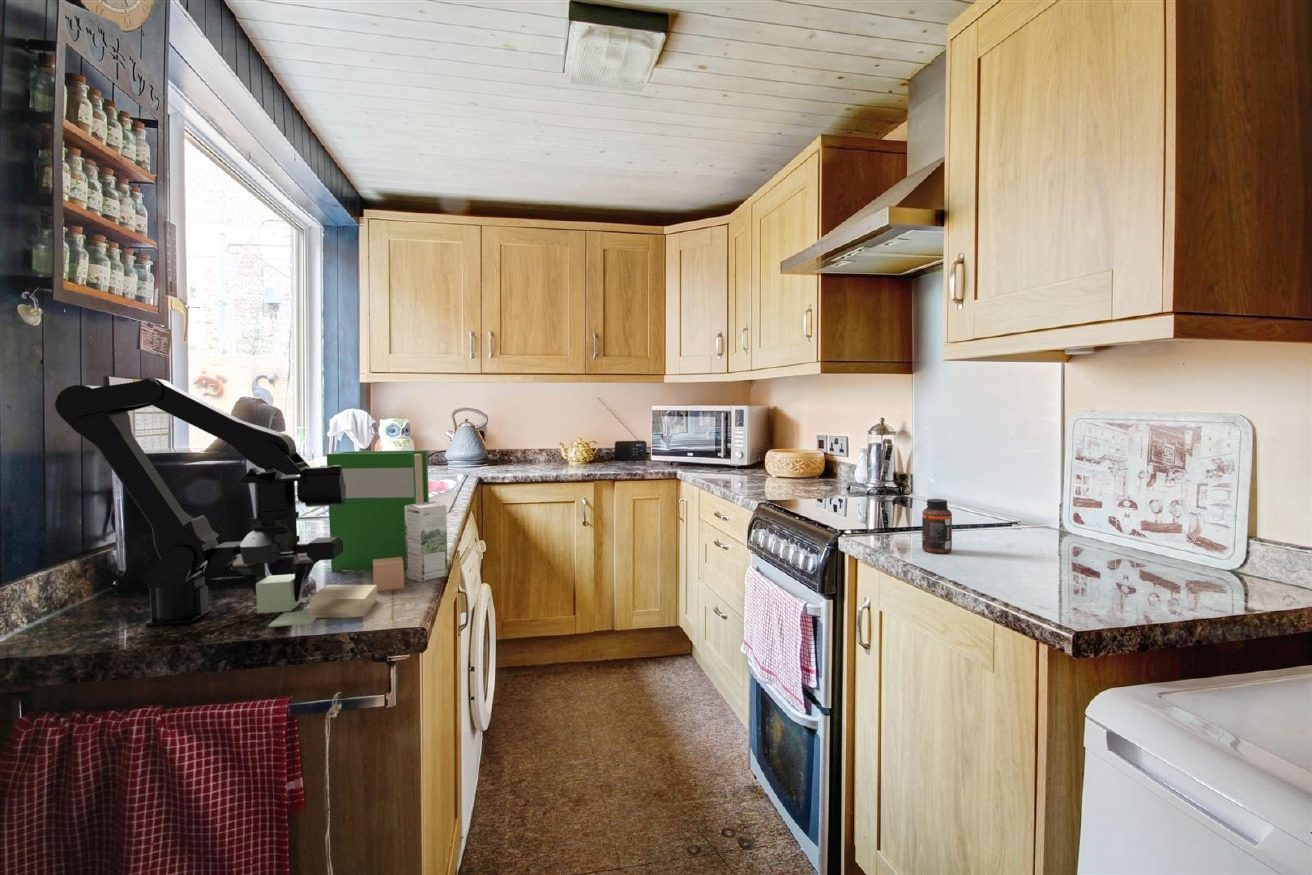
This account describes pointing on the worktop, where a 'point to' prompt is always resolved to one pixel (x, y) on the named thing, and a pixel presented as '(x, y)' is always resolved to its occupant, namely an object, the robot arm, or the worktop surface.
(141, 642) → the worktop surface
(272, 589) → the sage cube
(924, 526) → the supplement bottle
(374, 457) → the hardback book
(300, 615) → the sage swatch
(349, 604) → the beech block
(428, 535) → the syrup box
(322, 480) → the robot arm
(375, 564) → the terracotta cube
